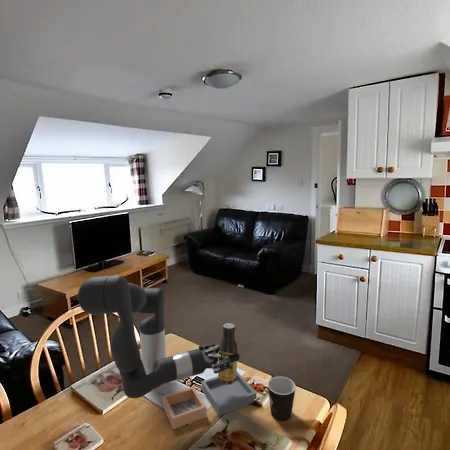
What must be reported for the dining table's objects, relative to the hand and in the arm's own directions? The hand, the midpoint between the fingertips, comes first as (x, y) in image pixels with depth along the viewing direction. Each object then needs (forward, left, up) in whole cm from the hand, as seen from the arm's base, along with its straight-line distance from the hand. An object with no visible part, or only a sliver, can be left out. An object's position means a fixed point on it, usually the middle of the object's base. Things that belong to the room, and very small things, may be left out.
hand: (233, 351), depth 109 cm
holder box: (0, -18, -16) cm, 24 cm away
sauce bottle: (0, -2, -10) cm, 10 cm away
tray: (0, -2, -16) cm, 16 cm away
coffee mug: (+14, +10, -16) cm, 23 cm away
